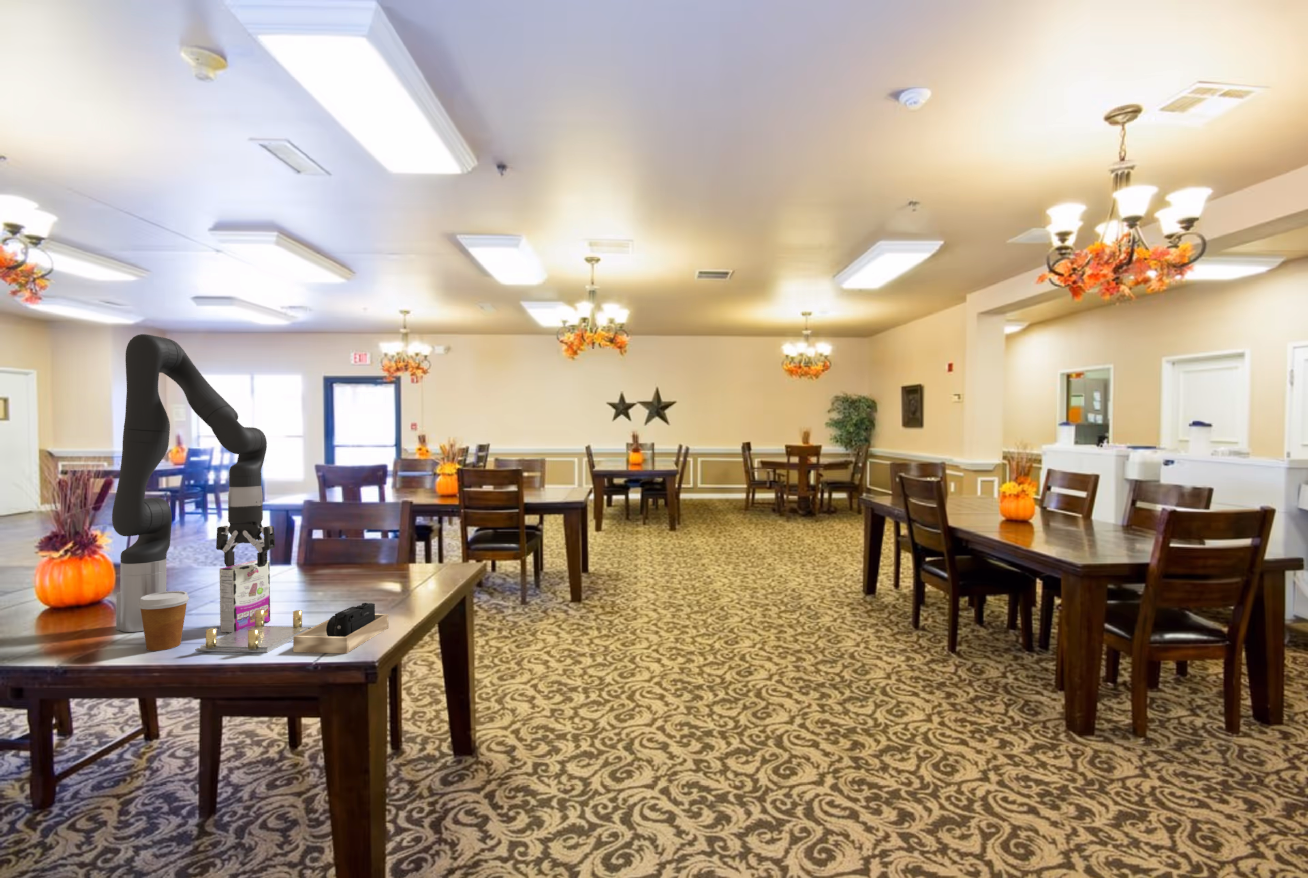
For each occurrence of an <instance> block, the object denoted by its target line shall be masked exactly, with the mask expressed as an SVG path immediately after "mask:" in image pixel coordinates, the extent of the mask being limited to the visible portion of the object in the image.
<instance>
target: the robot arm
mask: <svg viewBox="0 0 1308 878" xmlns="http://www.w3.org/2000/svg"><path fill="white" fill-rule="evenodd" d="M125 348H126V349H125V377H126V378H125V379H126V395H125V398H126V399H125V416H124V424H123V434H122V449H121V451H122V452H121V461H120V468H119V470H120V471H119V478H118V484H117V487H116V492H115V497H114V500H113V501H114V502H113V506H112V512H111V517H112V518H111V522H112V526H113V528H114V531H115V532H116V533H117V534H118V535H120V536H121V537H135V536H138V538H137V540H136V541H135V542H134V543H133V544H132V545H130V546H129V547H127V548H124V550H123V551H122V552H120V568H119V569H120V576H119V577H120V584H119V587H120V588H119V589H120V591H117V592H116V595H115V596H116V601H115V603H116V610H115V613H116V614H115V615H116V616H115V618H116V619H115V627H116V628H115V630H116V631H117V630H118V631H120V632H124V633H128V632H129V633H134V632H135V633H136V632H144V628H143V622H142V615H141V609H140V608H139V606H138V603H139V602H140V599H141V597H143V596H146V595H149V594H154V593H160V592H167V555H168V554H167V553H168V551H169V548H170V546H171V536H172V535H171V534H172V525H173V523H172V521H173V518H172V517H173V515H172V509H171V507H170V504H169V503H168V501H166V499H163V498H160V497H147V498H145V495H146V490H147V485H148V482H149V480H150V478H151V476H152V474H153V473H154V471H155V470H156V468H157V467H158V466H159V464H160V463H161V462H162V460H163V459H164V457H165V456H166V454H167V452H168V451H169V445H170V433H171V431H170V430H171V422H170V419H169V416H168V412H167V411H166V409H165V407H164V405H163V402H162V400H161V397H160V394H159V393H160V392H159V378H160V373H161V374H163V375H166V376H167V377H168V378H169V379H170V380H172V381H173V382H175V384H177V385H178V386H179V387H180V388H181V390H182V391H183V393H184V396H185V398H186V400H187V403H188V405H189V406H190V408H191V409H192V410H193V412H194V413H195V414H196V415H197V416H198V417H199V418H200V419H201V420H202V422H204V423H205V424H206V425H207V426H208V427H209V428H210V429H211V430H212V432H213V434H214V436H215V437H216V439H217V441H218V442H219V443H220V445H221V446H222V447H223V448H224V449H225V450H226V451H228V452H229V453H231V454H235V455H238V457H237V462H236V463H234V464H232V465H231V466H230V467H229V470H228V480H229V483H228V487H229V488H228V495H227V518H228V519H227V522H228V523H229V526H228V525H222V526H218V527H217V529H216V540H215V541H216V542H215V543H216V544H215V549H216V550H217V551H222V552H223V557H224V558H223V560H224V561H223V563H224V565H225V567H229V566H233V565H235V551H234V550H235V549H236V547H237V546H238V545H239V544H243V543H244V544H251V546H253V547H254V548H255V550H256V551H258V552H257V553H256V557H257V558H256V560H257V566H258V567H263V566H265V565H266V564H267V561H268V551H270V550H272V549H275V548H276V538H275V537H276V536H275V527H274V525H268V526H267V525H266V526H263V525H262V521H263V520H264V511H263V510H264V509H263V506H264V505H263V503H264V502H263V501H264V499H263V495H264V494H263V490H262V489H263V488H262V468H263V466H264V460H265V456H266V452H267V446H268V445H267V444H268V443H267V437H266V435H265V433H264V431H262V430H261V429H259V428H256V427H252V426H251V427H249V426H248V427H247V426H245V427H244V426H243V425H242V424H241V423H240V422H239V421H238V419H239V414H238V412H237V411H236V410H235V408H233V406H232V405H230V404H229V402H227V401H226V400H225V399H224V398H223V397H222V396H221V395H220V394H219V393H218V392H217V391H216V390H215V389H214V388H213V386H211V384H210V383H209V382H208V381H207V380H206V378H205V377H204V376H203V375H202V373H201V372H200V371H199V369H198V368H197V367H196V365H195V364H194V363H193V361H192V360H191V359H190V357H189V356H188V354H187V353H186V352H185V350H184V349H183V347H182V346H181V345H180V344H179V343H177V342H176V341H175V340H172V339H171V338H168V337H167V338H166V337H163V336H157V335H153V334H146V333H144V334H143V333H142V334H141V333H140V334H137V335H135V336H132V338H131V339H130V340H129V341H128V343H127V345H126V347H125ZM229 534H230V537H229ZM262 535H263V536H262Z"/></svg>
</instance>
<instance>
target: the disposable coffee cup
mask: <svg viewBox="0 0 1308 878" xmlns="http://www.w3.org/2000/svg"><path fill="white" fill-rule="evenodd" d="M189 600H190V596H189V595H188V592H187V591H183V590H170V591H166V592H160V593H154V594H149V595H146V596H143V597H141V599H140V602H139V603H138V606H139V608H140V609H141V615H142V622H143V628H144V631H143V634H144V640H145V641H144V642H145V647H146V650H147V651H151V652H152V651H154V652H156V651H165V650H170V649H174V648H176V647H179V646H181V643H182V639H183V638H182V636H183V631H184V625H185V618H186V610H187V605H188V602H189Z"/></svg>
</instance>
